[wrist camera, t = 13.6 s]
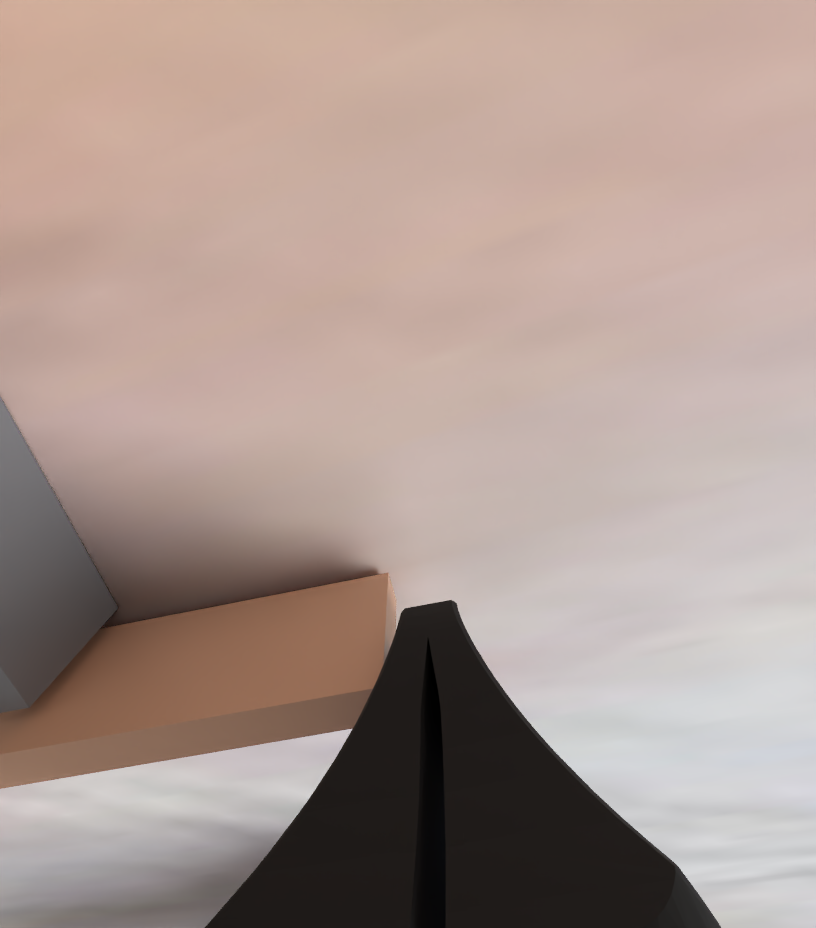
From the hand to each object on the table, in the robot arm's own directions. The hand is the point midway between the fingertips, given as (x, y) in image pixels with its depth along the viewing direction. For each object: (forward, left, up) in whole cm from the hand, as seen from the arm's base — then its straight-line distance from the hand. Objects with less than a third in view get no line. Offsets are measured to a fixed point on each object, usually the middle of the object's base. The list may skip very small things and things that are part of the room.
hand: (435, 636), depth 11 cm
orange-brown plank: (0, +9, -2) cm, 9 cm away
